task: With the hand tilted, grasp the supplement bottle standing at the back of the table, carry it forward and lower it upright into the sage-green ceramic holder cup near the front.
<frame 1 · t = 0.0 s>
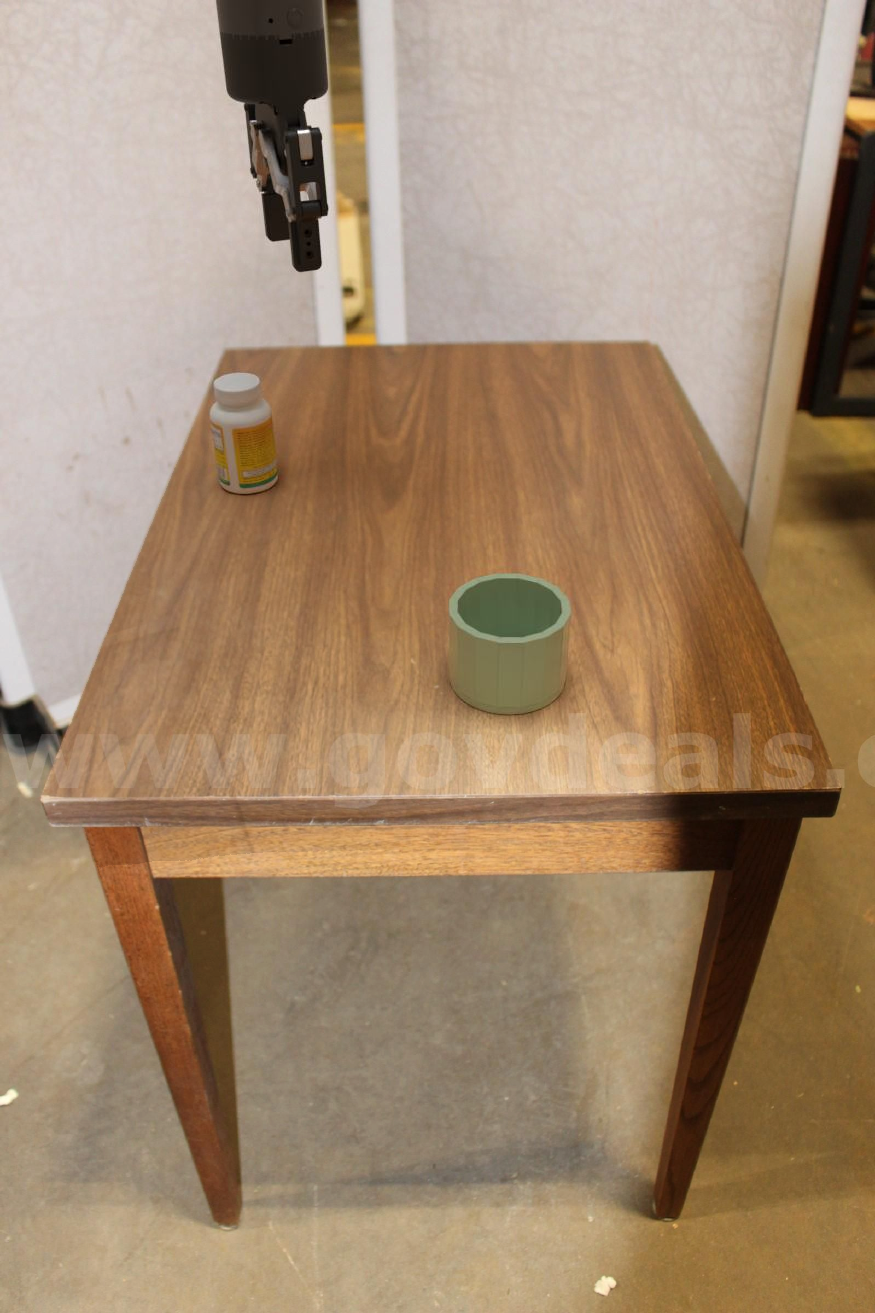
hand: (293, 254, 86), 20 cm above the table, tool pointing down, fingers open, 8 cm apart
holder: (507, 677, 74), on the table
supplement bottle: (249, 483, 97), on the table
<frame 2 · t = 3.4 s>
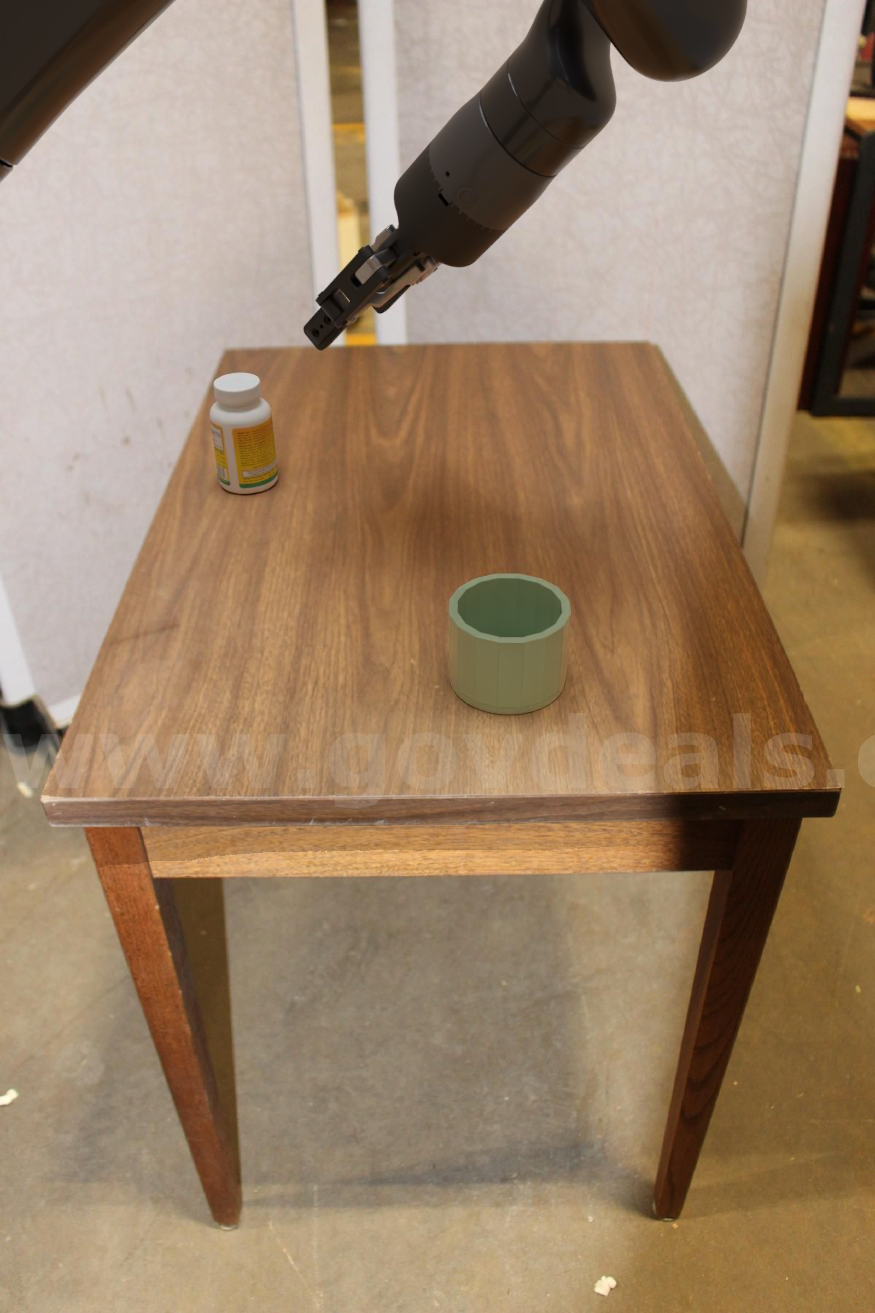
hand: (344, 321, 82), 17 cm above the table, tool tilted 45°, fingers open, 8 cm apart
nothing on the table moved.
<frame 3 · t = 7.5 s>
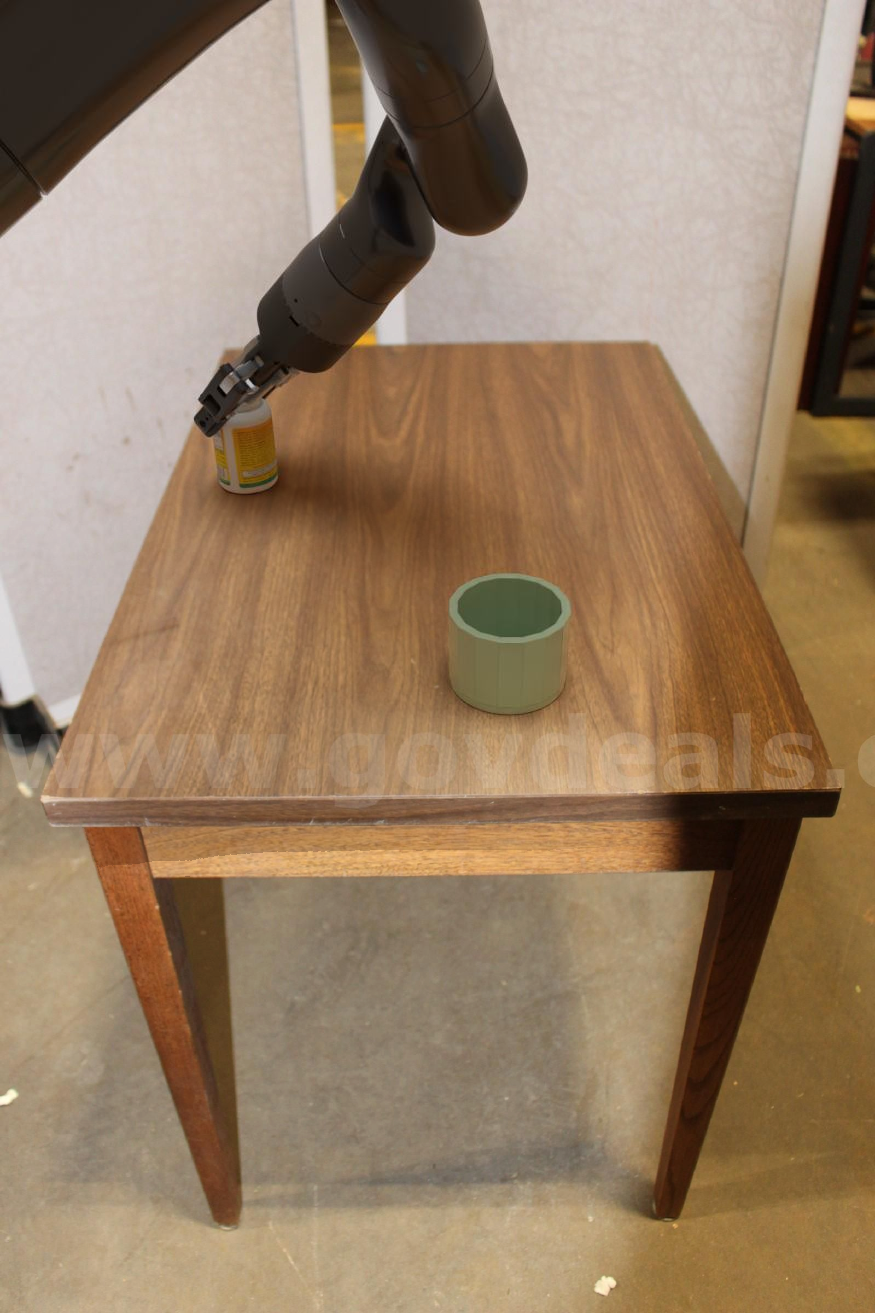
hand: (224, 414, 94), 6 cm above the table, tool tilted 45°, fingers closed on supplement bottle, 5 cm apart
supplement bottle: (249, 483, 97), on the table, touching gripper
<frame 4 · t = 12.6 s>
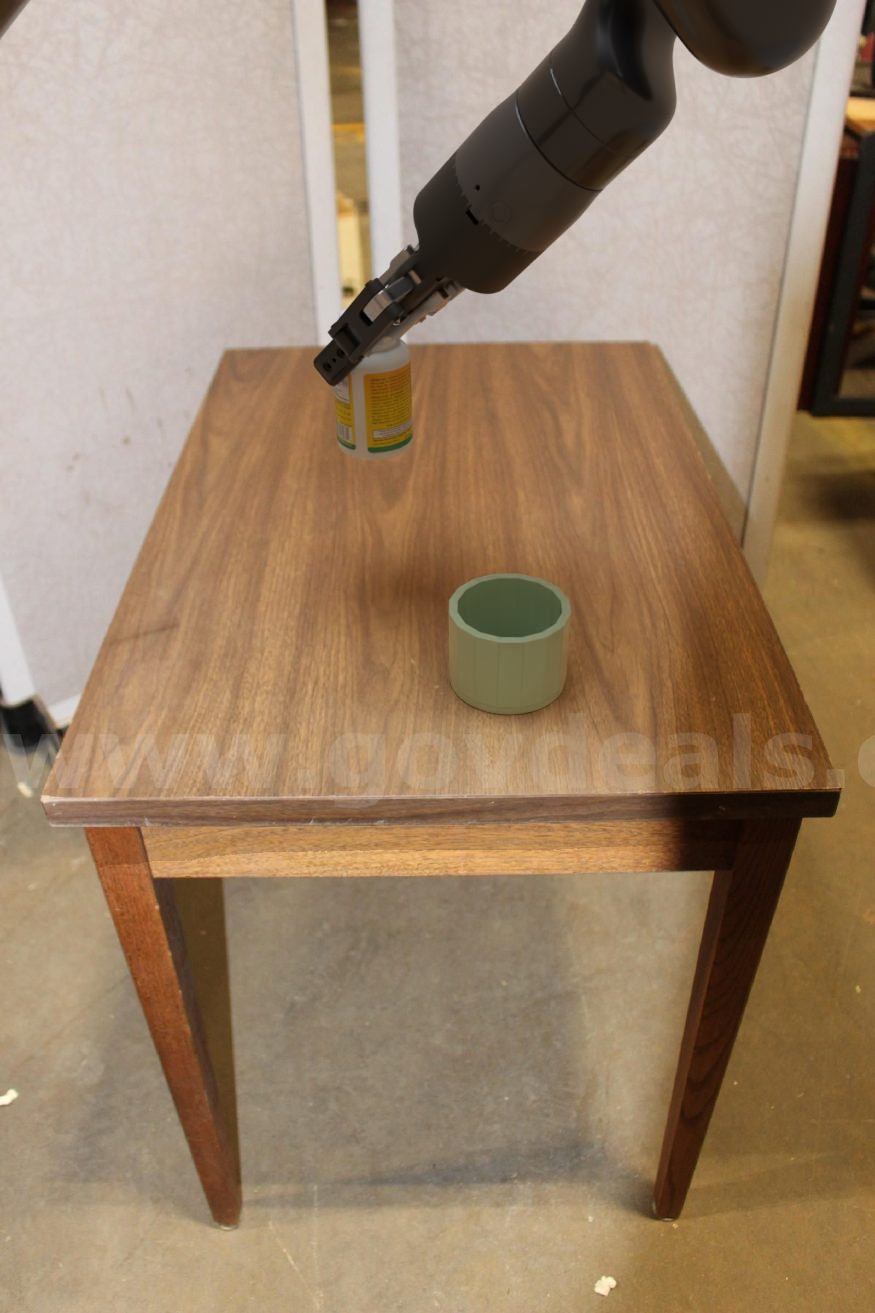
hand: (348, 357, 73), 18 cm above the table, tool tilted 45°, fingers closed on supplement bottle, 5 cm apart
supplement bottle: (376, 448, 76), point 12 cm above the table, touching gripper
when the fingers open (7 cm above the table, at t = 18.1 s): supplement bottle stays where it is, resting on holder.
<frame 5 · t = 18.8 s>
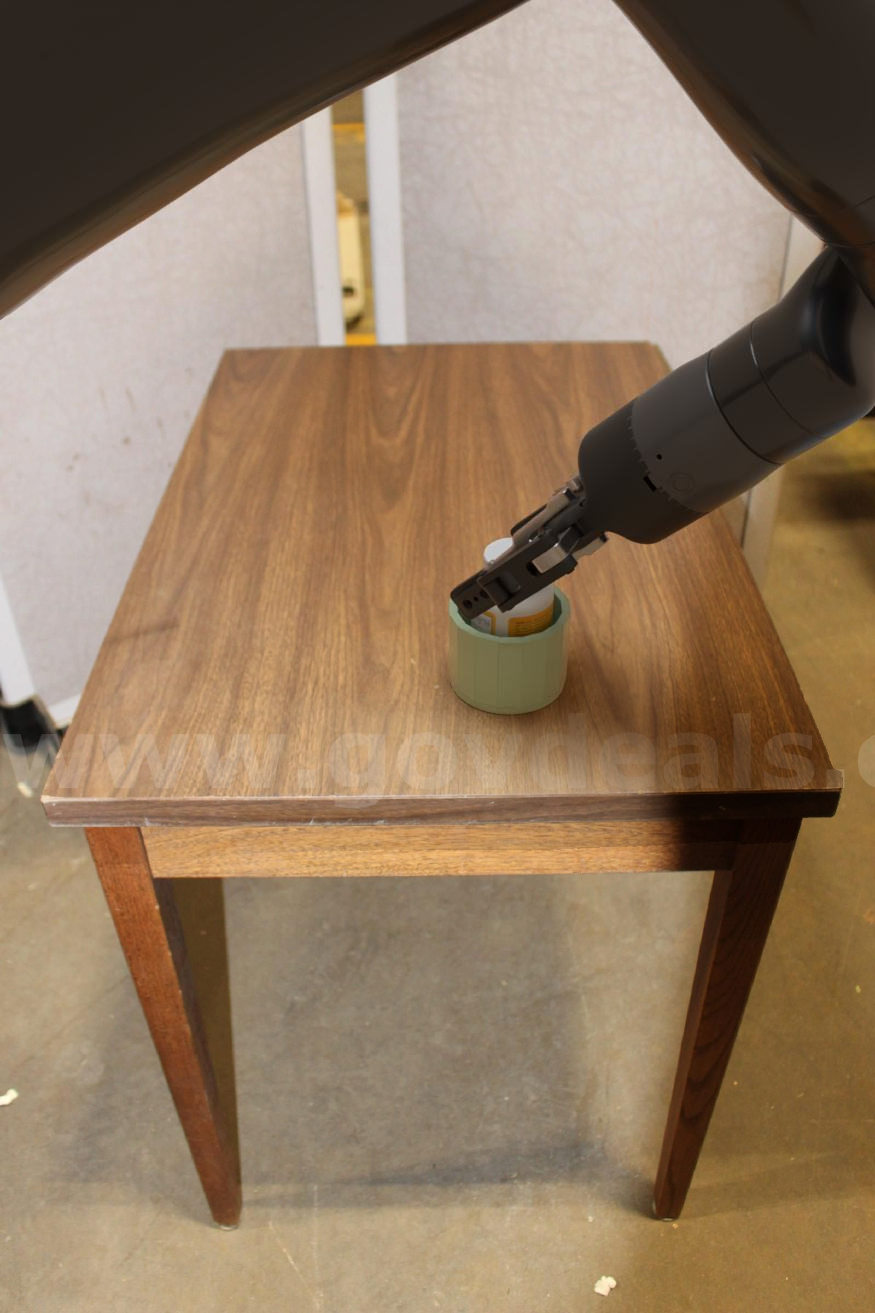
hand: (491, 572, 69), 8 cm above the table, tool tilted 45°, fingers open, 8 cm apart
supplement bottle: (509, 674, 73), resting on holder
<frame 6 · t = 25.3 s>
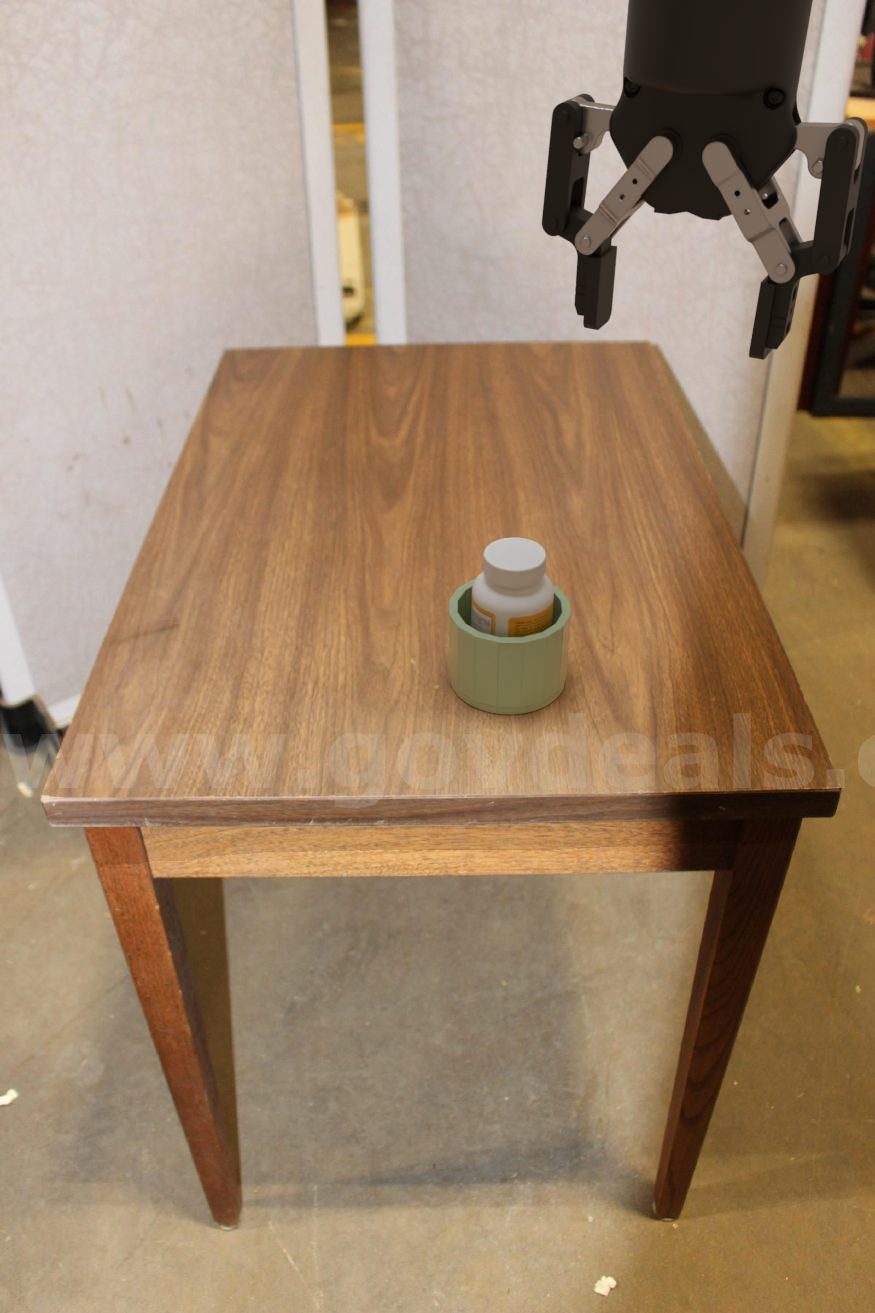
hand: (676, 338, 53), 26 cm above the table, tool pointing down, fingers open, 8 cm apart
nothing on the table moved.
at the end: supplement bottle 0.2 cm off-centre in the holder, point 0.4 cm above the holder's base; supplement bottle tilted 0°; the gripper is holding nothing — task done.
